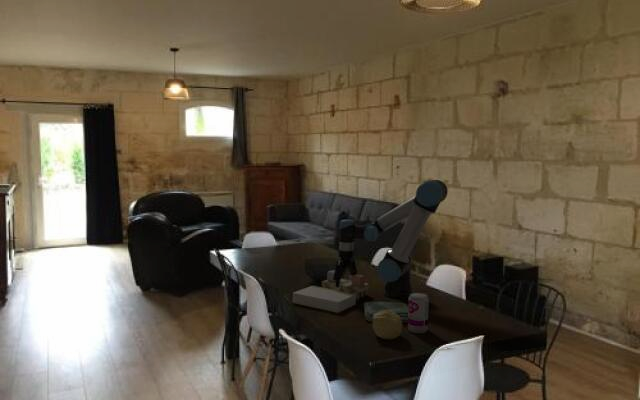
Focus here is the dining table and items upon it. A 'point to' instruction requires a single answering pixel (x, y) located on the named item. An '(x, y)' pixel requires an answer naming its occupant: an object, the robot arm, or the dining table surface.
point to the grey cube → (330, 276)
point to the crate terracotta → (358, 280)
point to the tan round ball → (387, 324)
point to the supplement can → (418, 313)
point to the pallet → (348, 287)
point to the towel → (395, 307)
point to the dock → (324, 298)
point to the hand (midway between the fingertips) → (345, 290)
